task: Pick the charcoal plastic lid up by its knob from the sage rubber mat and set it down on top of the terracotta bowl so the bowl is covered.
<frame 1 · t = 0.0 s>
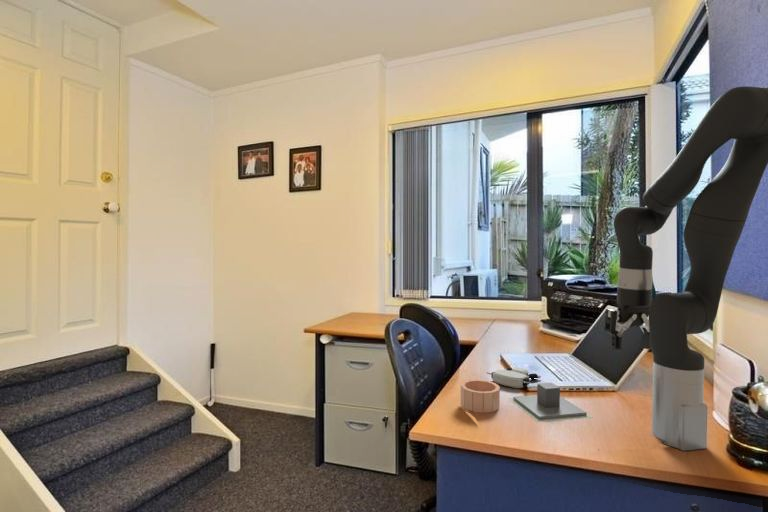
hand: (631, 349, 104), 17 cm above the table, tool pointing down, fingers open, 8 cm apart
mat: (548, 410, 108), on the table
lid: (548, 407, 108), point 1 cm above the table, touching mat
bowl: (480, 407, 110), on the table
robot toy: (514, 385, 128), on the table
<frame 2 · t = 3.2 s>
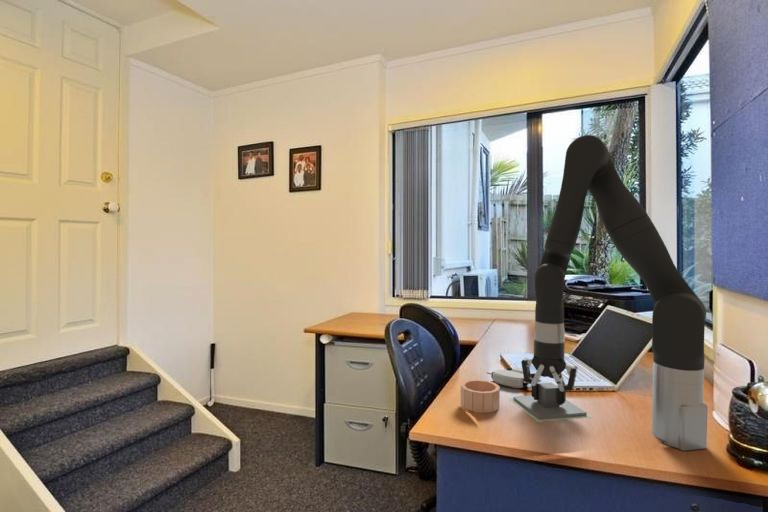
hand: (548, 401, 108), 2 cm above the table, tool pointing down, fingers closed on lid, 5 cm apart
lid: (548, 407, 108), point 1 cm above the table, touching gripper, mat
everything else where it was.
when the fingers open (9 cm above the table, at t = 7.8 s): lid drops 1 cm, resting on bowl.
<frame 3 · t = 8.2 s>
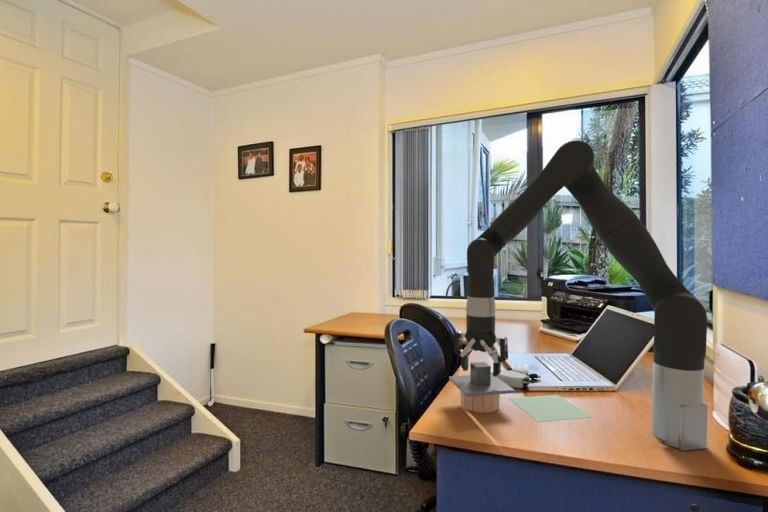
hand: (480, 372, 110), 9 cm above the table, tool pointing down, fingers open, 8 cm apart
lid: (480, 385, 110), point 6 cm above the table, touching bowl
bowl: (480, 407, 110), on the table, touching lid
everything else where it was.
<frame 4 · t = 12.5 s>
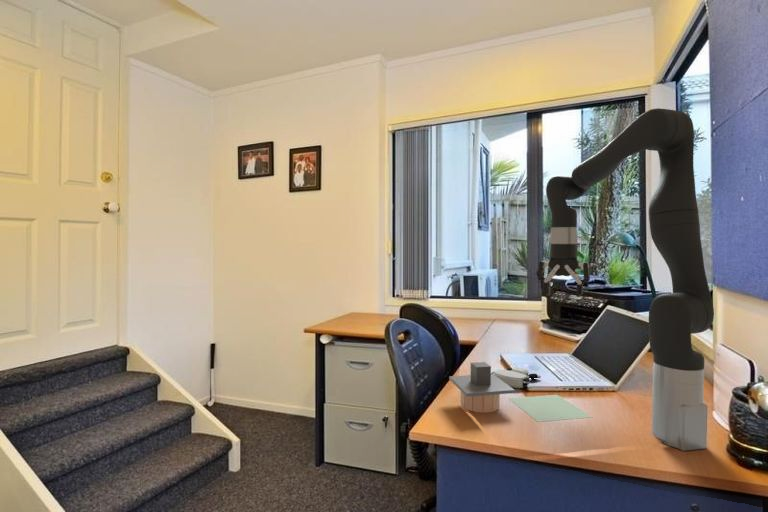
hand: (563, 295, 124), 28 cm above the table, tool pointing down, fingers open, 8 cm apart
nothing on the table moved.
at the end: lid 0.1 cm off-centre on the bowl, point 6.0 cm above the bowl's base; lid tilted 0°; the gripper is holding nothing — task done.
